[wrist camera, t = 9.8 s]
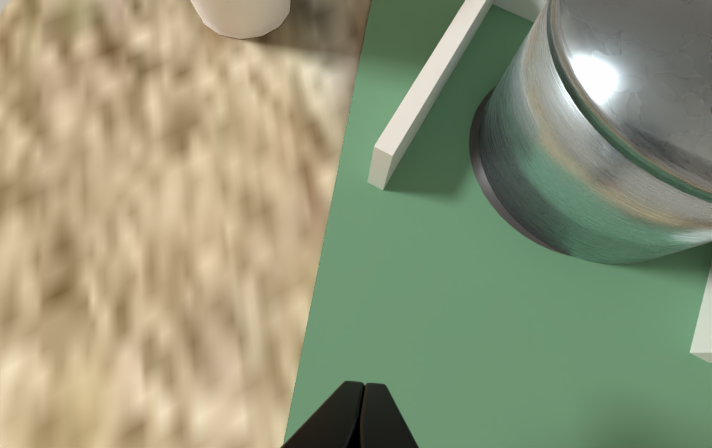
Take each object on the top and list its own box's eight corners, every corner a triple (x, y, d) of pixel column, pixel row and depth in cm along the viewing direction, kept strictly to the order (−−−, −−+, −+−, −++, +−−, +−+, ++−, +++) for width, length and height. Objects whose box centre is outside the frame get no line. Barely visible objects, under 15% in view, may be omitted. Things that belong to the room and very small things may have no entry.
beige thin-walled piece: (707, 362, 20) (1983, 395, 4) (367, 182, 22) (435, -200, 7) (774, 66, 26) (1377, -329, 11) (507, -48, 29) (701, -503, 13)
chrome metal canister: (717, 293, 21) (981, 251, 12) (461, 233, 21) (545, 152, 13) (700, 84, 25) (884, -52, 17) (490, 38, 26) (565, -117, 17)
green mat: (919, 645, 16) (926, 649, 16) (266, 530, 17) (265, 532, 16) (766, 23, 28) (769, 21, 27) (379, -40, 28) (380, -43, 28)
